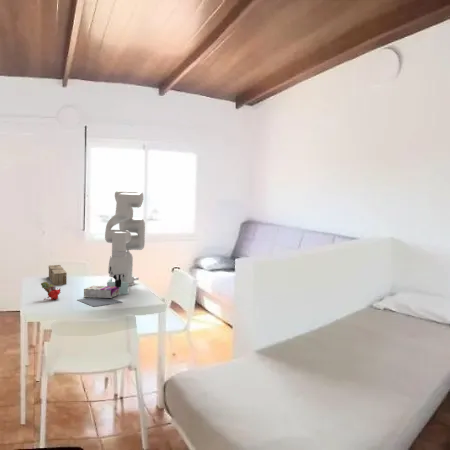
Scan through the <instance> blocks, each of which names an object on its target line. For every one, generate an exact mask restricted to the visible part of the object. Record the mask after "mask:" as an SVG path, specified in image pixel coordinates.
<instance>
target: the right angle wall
mask: <svg viewBox="0 0 450 450" xmlns="http://www.w3.org/2000/svg"><path fill="white" fill-rule="evenodd" d="M106 286H115V281H113V277H110V278H108V280H107V282H106ZM128 294H129V286H128V282H121V287H119V295H128Z"/></svg>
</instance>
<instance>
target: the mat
mask: <svg viewBox="0 0 450 450" xmlns="http://www.w3.org/2000/svg"><path fill="white" fill-rule="evenodd" d="M76 301H78V302H81V303H83V304H86V305H88V306H91V307H93V308H96V307H102V306H109V305H115V304H120V303H121V304H122V303H123V301H121V300H119V299H116V298H114V297H112V298H89V297H84V298H79V299H77V300H76Z"/></svg>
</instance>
